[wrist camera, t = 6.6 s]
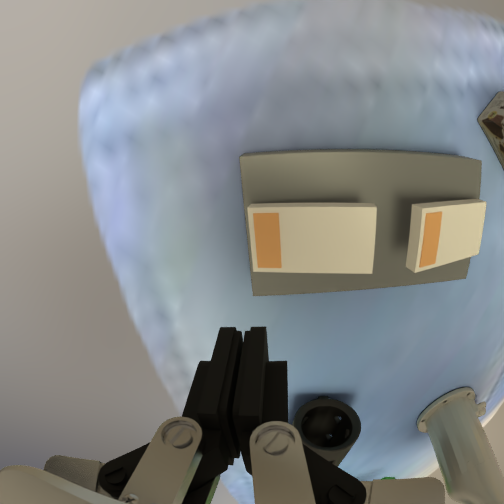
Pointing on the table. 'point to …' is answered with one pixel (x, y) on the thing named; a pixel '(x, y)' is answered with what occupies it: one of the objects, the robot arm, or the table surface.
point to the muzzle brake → (328, 428)
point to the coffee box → (494, 125)
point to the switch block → (359, 191)
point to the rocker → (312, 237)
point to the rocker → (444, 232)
